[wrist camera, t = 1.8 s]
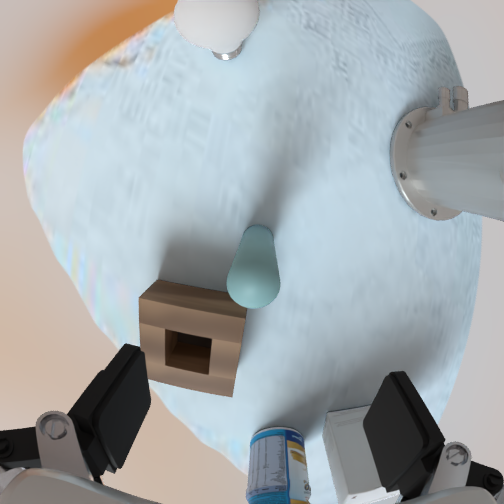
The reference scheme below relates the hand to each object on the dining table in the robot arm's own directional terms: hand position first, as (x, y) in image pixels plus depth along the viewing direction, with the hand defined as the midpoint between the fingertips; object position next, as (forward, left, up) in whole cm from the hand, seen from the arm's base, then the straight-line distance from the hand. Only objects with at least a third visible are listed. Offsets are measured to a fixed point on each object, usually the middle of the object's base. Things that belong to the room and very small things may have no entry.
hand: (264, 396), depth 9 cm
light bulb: (-21, -7, -19) cm, 29 cm away
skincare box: (+22, +17, -19) cm, 34 cm away
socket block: (+9, -6, -19) cm, 22 cm away
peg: (-2, -1, -19) cm, 19 cm away
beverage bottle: (+28, +7, -19) cm, 35 cm away
